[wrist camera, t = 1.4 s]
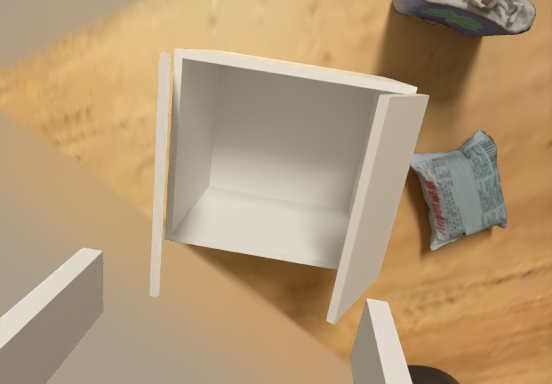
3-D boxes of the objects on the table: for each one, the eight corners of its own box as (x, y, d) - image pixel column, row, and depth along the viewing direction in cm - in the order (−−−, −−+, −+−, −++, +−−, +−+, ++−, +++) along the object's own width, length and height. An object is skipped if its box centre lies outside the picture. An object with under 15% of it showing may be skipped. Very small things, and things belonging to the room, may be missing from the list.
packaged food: (424, 239, 47) (437, 259, 42) (401, 149, 44) (412, 160, 39) (498, 219, 46) (520, 237, 41) (480, 124, 42) (501, 132, 38)
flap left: (158, 296, 26) (149, 296, 26) (160, 236, 34) (153, 236, 33) (170, 61, 21) (159, 60, 21) (169, 53, 28) (160, 52, 28)
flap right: (372, 273, 33) (378, 276, 33) (326, 320, 26) (333, 324, 26) (421, 93, 28) (429, 95, 27) (379, 94, 21) (390, 96, 21)
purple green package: (387, 10, 39) (417, -7, 28) (400, -24, 38) (436, -55, 27) (478, 42, 39) (543, 38, 28) (494, 10, 38) (567, -8, 27)
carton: (351, 212, 47) (367, 275, 33) (205, 187, 47) (164, 239, 34) (383, 76, 41) (417, 87, 28) (217, 50, 42) (174, 48, 28)
